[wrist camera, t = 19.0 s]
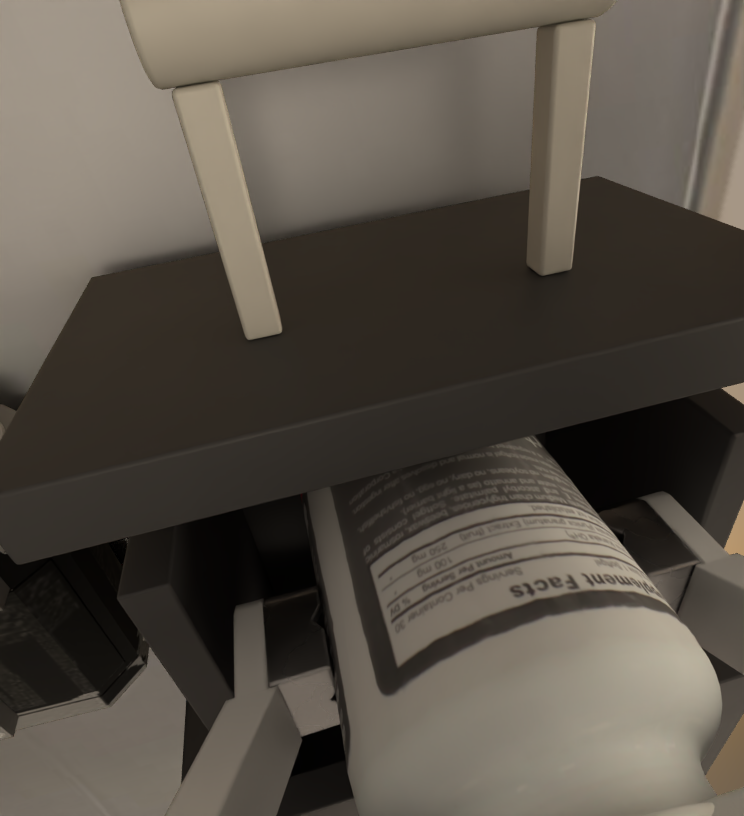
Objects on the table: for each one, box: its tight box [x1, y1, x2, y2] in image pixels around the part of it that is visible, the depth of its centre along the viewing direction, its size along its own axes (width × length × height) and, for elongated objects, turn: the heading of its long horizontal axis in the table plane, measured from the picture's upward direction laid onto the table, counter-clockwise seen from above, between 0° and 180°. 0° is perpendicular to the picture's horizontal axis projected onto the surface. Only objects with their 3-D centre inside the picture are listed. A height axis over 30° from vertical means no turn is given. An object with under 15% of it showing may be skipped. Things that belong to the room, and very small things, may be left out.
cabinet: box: [181, 647, 744, 816], centre depth 19 cm, size 15×14×9 cm
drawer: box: [0, 0, 744, 776], centre depth 12 cm, size 18×12×7 cm
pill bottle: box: [301, 435, 722, 816], centre depth 9 cm, size 5×5×10 cm
